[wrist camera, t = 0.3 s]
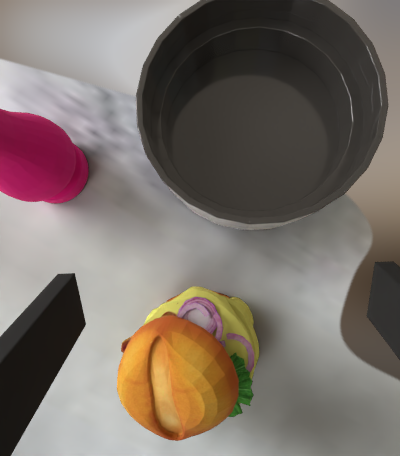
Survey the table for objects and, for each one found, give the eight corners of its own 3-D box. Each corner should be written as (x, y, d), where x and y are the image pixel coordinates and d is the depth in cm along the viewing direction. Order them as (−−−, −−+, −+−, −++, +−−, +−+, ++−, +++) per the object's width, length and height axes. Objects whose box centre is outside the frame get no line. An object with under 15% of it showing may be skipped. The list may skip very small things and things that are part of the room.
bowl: (360, 224, 29) (400, 215, 22) (158, 235, 30) (140, 230, 24) (342, 31, 30) (374, -29, 24) (151, 49, 32) (132, -3, 25)
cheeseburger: (287, 348, 28) (289, 425, 19) (198, 406, 31) (160, 500, 21) (215, 259, 29) (181, 288, 20) (135, 323, 32) (71, 376, 22)
